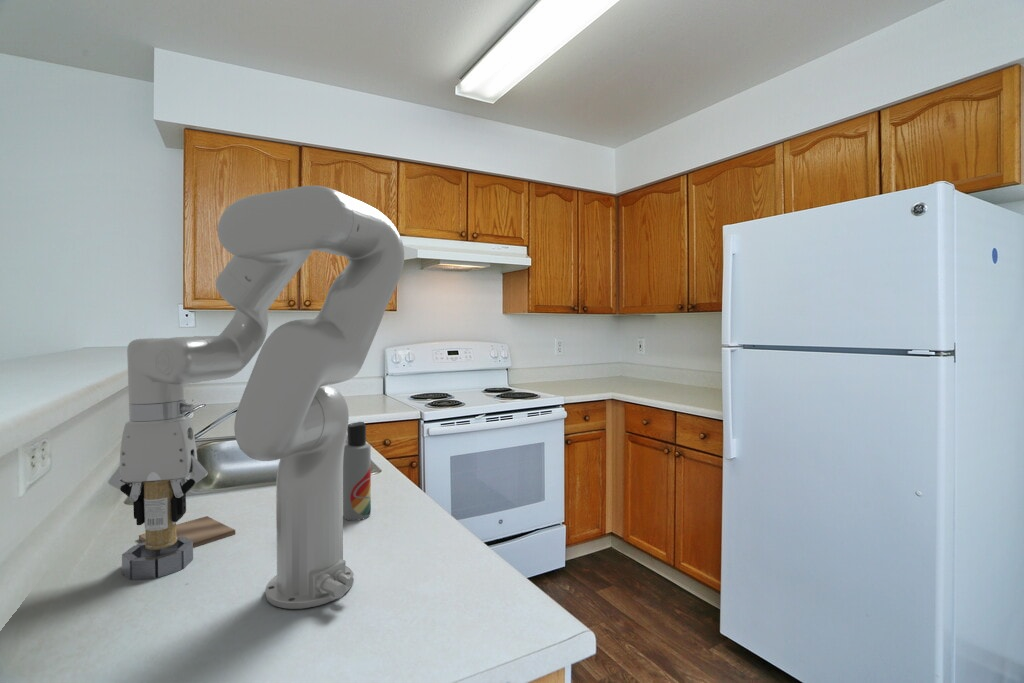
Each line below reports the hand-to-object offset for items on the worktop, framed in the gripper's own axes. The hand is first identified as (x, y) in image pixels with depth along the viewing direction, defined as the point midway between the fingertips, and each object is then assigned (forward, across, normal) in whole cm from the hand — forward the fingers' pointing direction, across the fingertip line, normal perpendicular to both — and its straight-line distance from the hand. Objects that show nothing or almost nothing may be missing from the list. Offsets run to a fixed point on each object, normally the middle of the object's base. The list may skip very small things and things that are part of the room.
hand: (160, 519), depth 85 cm
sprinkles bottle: (+5, 0, 0) cm, 5 cm away
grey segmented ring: (+8, +1, 0) cm, 8 cm away
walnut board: (+8, 0, -12) cm, 15 cm away
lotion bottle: (+9, -31, -16) cm, 36 cm away
